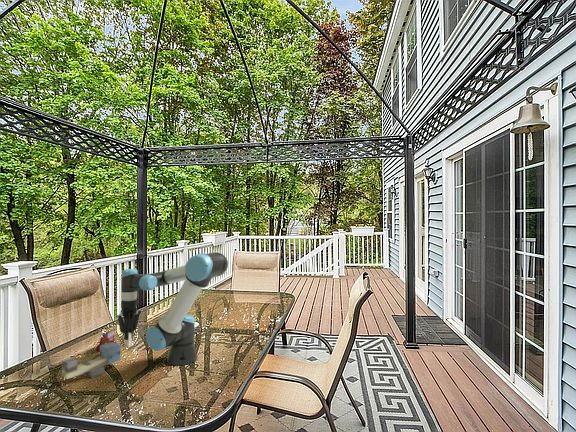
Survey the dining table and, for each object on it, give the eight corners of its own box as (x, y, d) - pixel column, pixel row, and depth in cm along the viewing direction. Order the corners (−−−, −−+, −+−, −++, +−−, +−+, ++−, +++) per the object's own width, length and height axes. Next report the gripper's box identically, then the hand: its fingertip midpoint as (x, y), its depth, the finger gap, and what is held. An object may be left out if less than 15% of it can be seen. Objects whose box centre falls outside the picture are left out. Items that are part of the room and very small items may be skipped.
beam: (123, 366, 175) (123, 345, 175) (68, 386, 153) (69, 363, 153) (115, 363, 179) (115, 343, 179) (60, 383, 157) (60, 360, 157)
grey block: (120, 359, 173) (120, 344, 174) (108, 364, 168) (108, 348, 168) (111, 356, 177) (111, 342, 177) (99, 360, 172) (99, 345, 172)
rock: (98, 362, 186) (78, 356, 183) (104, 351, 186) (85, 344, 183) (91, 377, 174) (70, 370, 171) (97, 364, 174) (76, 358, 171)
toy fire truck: (93, 354, 191) (93, 335, 191) (108, 346, 203) (108, 328, 203) (104, 355, 190) (105, 335, 190) (119, 347, 202) (119, 329, 202)
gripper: (135, 296, 189) (135, 340, 189) (112, 300, 178) (112, 347, 178) (144, 298, 186) (144, 343, 185) (122, 302, 174) (121, 350, 174)
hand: (128, 345), depth 182 cm, fingers closed
